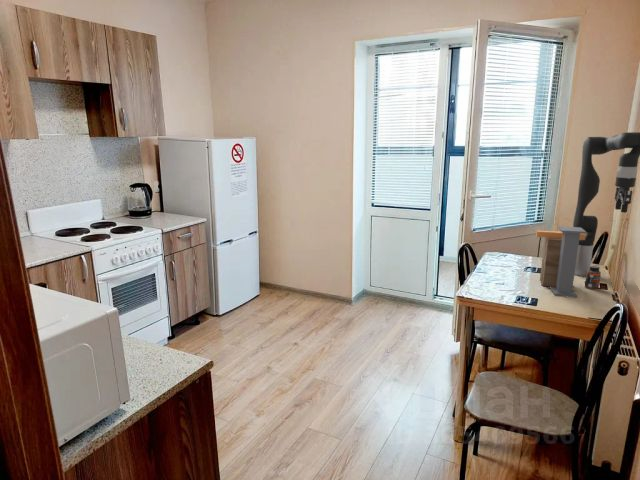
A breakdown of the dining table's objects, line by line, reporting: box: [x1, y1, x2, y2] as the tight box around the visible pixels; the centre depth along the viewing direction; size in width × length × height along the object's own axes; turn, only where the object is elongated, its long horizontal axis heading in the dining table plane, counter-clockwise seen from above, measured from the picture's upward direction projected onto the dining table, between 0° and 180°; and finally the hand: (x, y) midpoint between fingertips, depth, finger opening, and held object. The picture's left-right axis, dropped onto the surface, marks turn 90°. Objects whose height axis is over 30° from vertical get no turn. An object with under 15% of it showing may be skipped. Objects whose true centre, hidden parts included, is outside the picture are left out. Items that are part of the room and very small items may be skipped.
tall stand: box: [549, 225, 586, 298], centre depth 208 cm, size 10×10×32 cm
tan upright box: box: [539, 238, 562, 288], centre depth 221 cm, size 10×12×25 cm
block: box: [535, 229, 586, 240], centre depth 218 cm, size 3×22×3 cm, turn 71°
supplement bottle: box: [584, 265, 602, 290], centre depth 217 cm, size 6×6×11 cm
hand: (620, 210), depth 202 cm, fingers open, 8 cm apart
